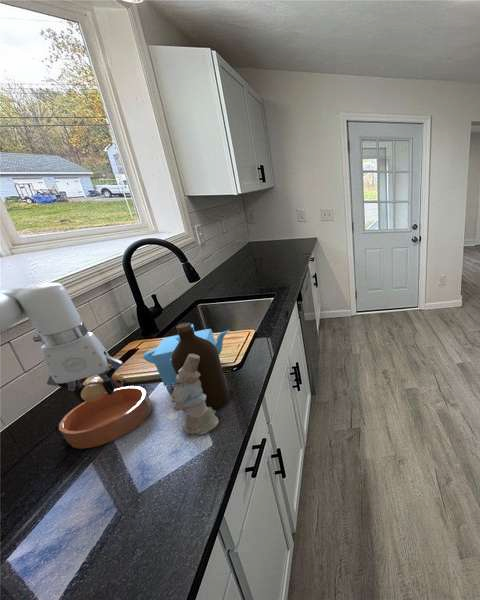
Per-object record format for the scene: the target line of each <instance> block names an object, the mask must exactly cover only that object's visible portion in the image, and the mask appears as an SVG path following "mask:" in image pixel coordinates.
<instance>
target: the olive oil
mask: <svg viewBox="0 0 480 600" xmlns="http://www.w3.org/2000/svg"><path fill="white" fill-rule="evenodd" d="M191 324H192V323H191V322H182V323H179V324H177V326H176V331H177V335H179V337H180V342H179V343H178V345H177V346H176V348H175V349H174V351H173V353H172V357H171V363H172V366H173V368H174V370H175V372H176V374H179V373H178V371H179V370H180V369H181V368H182V367H183V365H184V363H185V361H186V359H187V356H188V355H189V354H196V355H198V356H200V360H199V364H198V368H197V371H198V372H199V373H200V377H199V378H198V379H199V380H200V381H201V388H202V389H203V392H202V393H204V394H205V395H206V401H205V403H206V406H207V407H211V408H212V410H215V411H216V410H218V409H220V408H221V407H223V406H224V405H225V404H226V403H227V402H228V401H229V400H230V397H231V395H230V394H231V393H230V390H229V387H228V384H227V381H226V376H225V374H224V370H223V367H222V362H221V359H220V357H219V355H218V351H217V349H216V347H215V346H214V344H213V343H212V342H210V341H209V340H206V339H204V338H201V337H198V336H196V335H195V334H194V331H195V329H194V330H193V328H192V327H191ZM181 384H183V383H181Z"/></svg>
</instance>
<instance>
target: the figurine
mask: <svg viewBox="0 0 480 600" xmlns="http://www.w3.org/2000/svg"><path fill="white" fill-rule="evenodd" d="M199 360H200V356H198V355H196V354H189V355H188V356H187V359H186V361H185V363H184V365H183V367H182V368H181V369H180V370H179V371H178V373H179V374H177V377H176V381H177V382H178V383H183V384H179V385H177V386H176V385H175V388H174V389H173V391H172V393H171V399H170V402H171V403H172V404H173V407H172V409H173V410H174V411H176V412H179V411H181V412H182V415H183V416H185V423H184V426H183V430H182V432H184V433H185V434H186V435H198V436H199V435H203V434H206V433H208V432H211V431H212V430H214V429H215V428H216V427H217V426H218V424H219V421H220V420H219V418H218V417H217V416H216V415H215V414H216V413H217V411H216V410H212V408H211V407H207V406H206V403H205V401H206V395H205V394H204V393H202V392H203V389H202V388H201V381H200V380H199V379H198V378H199V377H200V373H199V372H198V371H197V368H198V364H199Z"/></svg>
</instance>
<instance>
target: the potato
mask: <svg viewBox="0 0 480 600" xmlns="http://www.w3.org/2000/svg"><path fill="white" fill-rule="evenodd" d="M102 383H103V379H102V378H100V377H94V378H92V379H90V380H89V381H88V382H87V383H86V385H85V386H84V388H83V389H82V391H81V398H82V399H83V400H85V401H87V402H94V401H98V400H100V399H101V398H103V396H104V395H105V393H106V390H105V388H104V386H103V384H102Z"/></svg>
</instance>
